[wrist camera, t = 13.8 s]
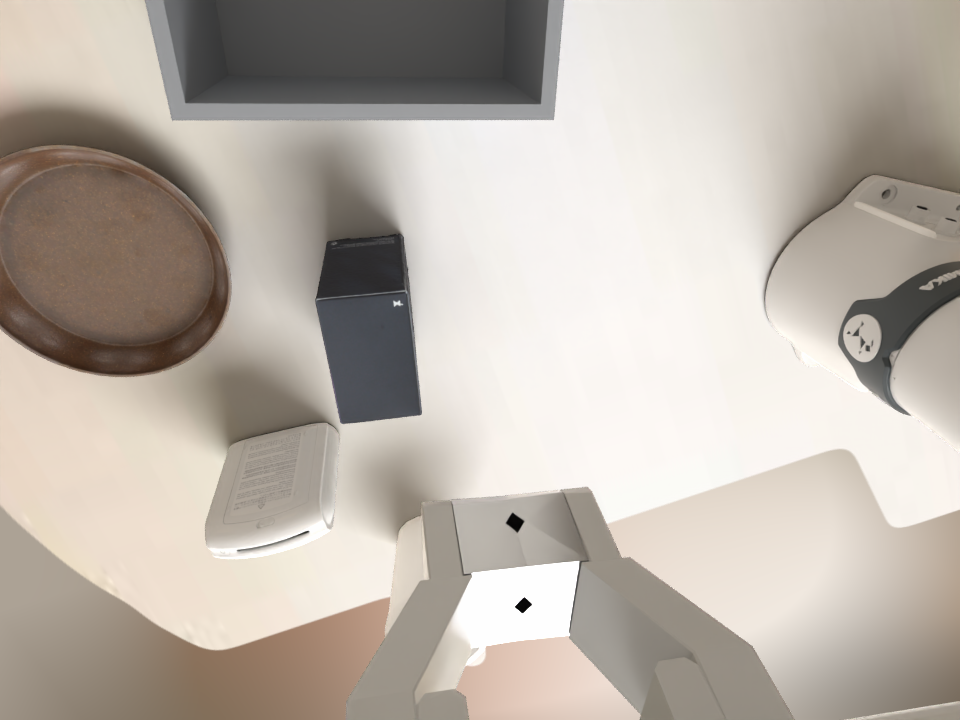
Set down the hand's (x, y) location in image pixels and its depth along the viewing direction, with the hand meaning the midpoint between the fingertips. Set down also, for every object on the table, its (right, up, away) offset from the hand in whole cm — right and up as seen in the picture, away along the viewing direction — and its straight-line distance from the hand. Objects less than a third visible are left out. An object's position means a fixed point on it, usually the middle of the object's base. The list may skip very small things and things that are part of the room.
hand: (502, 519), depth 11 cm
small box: (-9, +8, +40) cm, 42 cm away
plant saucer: (-28, +11, +35) cm, 46 cm away
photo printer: (-19, -5, +46) cm, 50 cm away
